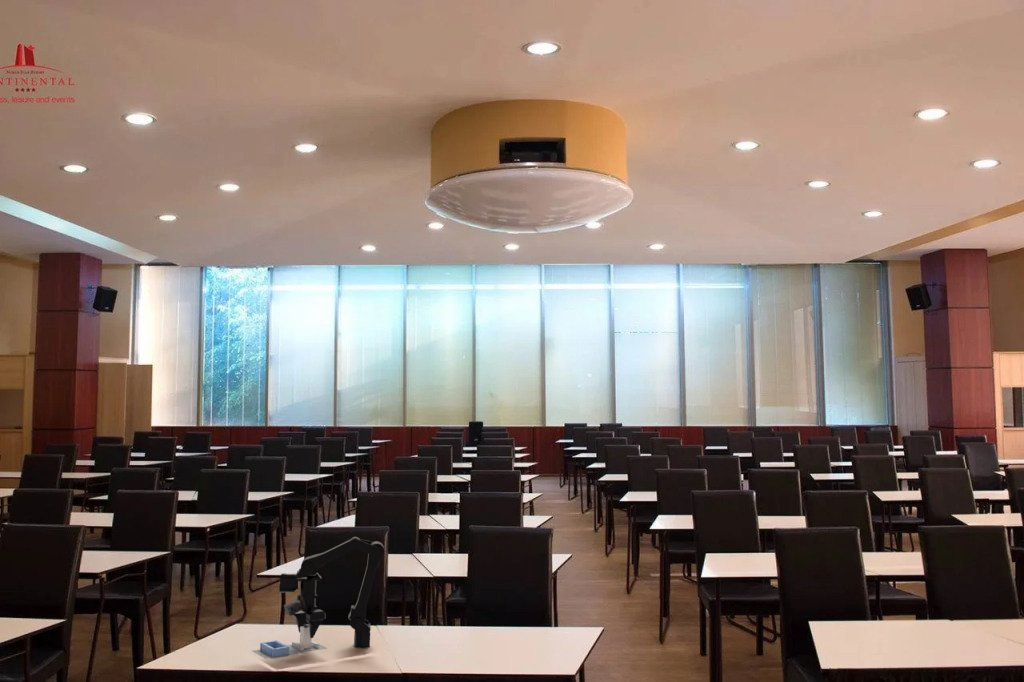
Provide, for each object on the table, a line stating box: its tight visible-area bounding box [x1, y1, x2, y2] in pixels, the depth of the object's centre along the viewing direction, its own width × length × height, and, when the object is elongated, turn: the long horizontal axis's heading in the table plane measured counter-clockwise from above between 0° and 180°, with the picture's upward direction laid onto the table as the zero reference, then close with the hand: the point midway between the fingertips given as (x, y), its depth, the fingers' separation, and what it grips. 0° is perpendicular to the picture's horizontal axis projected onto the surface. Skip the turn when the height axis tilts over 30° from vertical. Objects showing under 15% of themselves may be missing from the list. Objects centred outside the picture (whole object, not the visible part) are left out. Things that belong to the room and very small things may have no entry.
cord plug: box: [299, 623, 313, 648], centre depth 314 cm, size 3×3×8 cm
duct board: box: [252, 640, 327, 659], centre depth 309 cm, size 12×24×4 cm, turn 129°
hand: (306, 635), depth 314 cm, fingers open, 9 cm apart
